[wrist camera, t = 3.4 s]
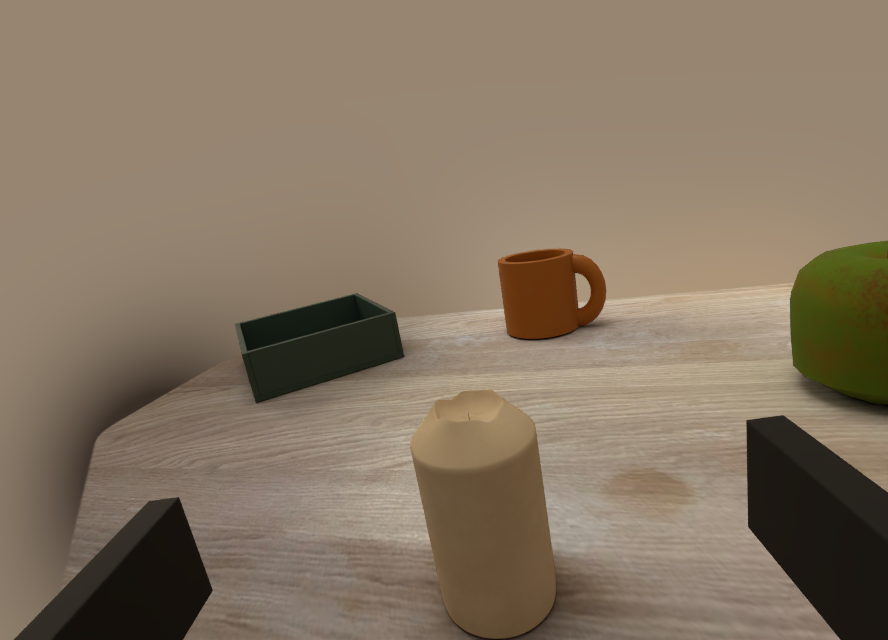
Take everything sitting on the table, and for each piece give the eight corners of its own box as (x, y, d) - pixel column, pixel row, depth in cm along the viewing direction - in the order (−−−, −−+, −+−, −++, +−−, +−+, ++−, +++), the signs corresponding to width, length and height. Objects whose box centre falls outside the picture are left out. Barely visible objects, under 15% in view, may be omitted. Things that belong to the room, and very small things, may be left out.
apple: (828, 347, 43) (833, 221, 40) (1014, 377, 34) (1038, 216, 31) (759, 393, 38) (759, 250, 35) (958, 442, 29) (981, 256, 26)
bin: (256, 402, 53) (241, 354, 52) (246, 362, 69) (234, 323, 67) (404, 356, 60) (395, 312, 58) (365, 328, 75) (356, 293, 74)
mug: (593, 342, 53) (585, 260, 51) (494, 338, 60) (483, 266, 58) (616, 317, 60) (610, 243, 58) (525, 316, 67) (516, 250, 65)
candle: (533, 659, 20) (499, 443, 18) (421, 618, 23) (378, 427, 21) (571, 563, 25) (549, 379, 22) (474, 539, 28) (443, 374, 25)
